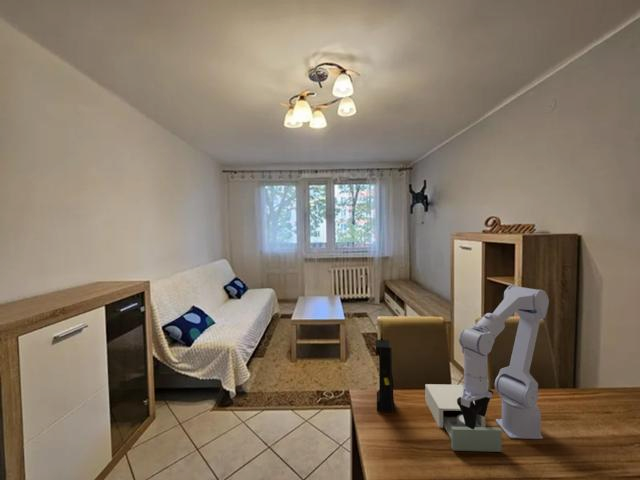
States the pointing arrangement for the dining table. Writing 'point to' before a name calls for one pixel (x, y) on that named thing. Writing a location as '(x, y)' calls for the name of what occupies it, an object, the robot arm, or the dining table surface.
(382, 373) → the portable radio
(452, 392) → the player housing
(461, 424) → the grey cylinder white face
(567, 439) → the dining table surface
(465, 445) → the grey green drawer
